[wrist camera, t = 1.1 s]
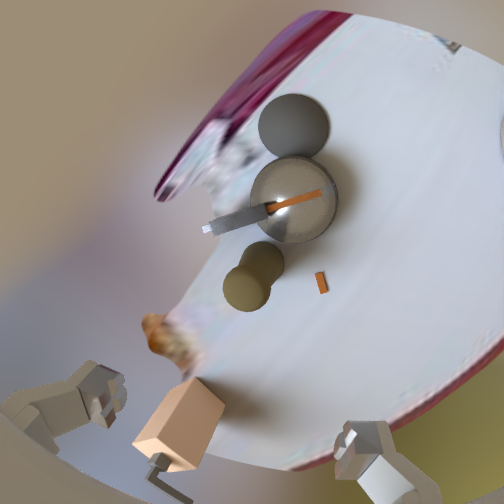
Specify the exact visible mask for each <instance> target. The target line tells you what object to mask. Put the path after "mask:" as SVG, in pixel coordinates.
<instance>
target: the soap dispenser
mask: <svg viewBox="0 0 504 504" xmlns="http://www.w3.org/2000/svg"><path fill="white" fill-rule="evenodd" d="M225 406H226V405H225V404H224V403H223V402H222V401H221V400H220V399H219V398H217V397H216V396H215V395H214V394H213V393H212V392H211V391H210V390H209V389H208V388H207V387H206V386H205V385H204V384H202V383H201V382H200V381H199V380H198V379H197V378H196V377H194V378H192V379H190V380H188V381H186V382H184V383H182V384H181V385H179V386H177V387H175V388H173V389H171V390H170V391H169V393H168V394H167V395H166V397H165V398H164V400H163V401H162V403H161V404H160V405H159V407H158V408H157V410H156V411H155V413H154V414H153V416H152V417H151V418H150V420H149V421H148V422H147V424H146V425H145V427H144V428H143V430H142V431H141V432H140V434H139V435H138V437H137V438H136V440H135V441H134V442H133V444H132V445H134V446H135V447H136V448H137V449H138V450H140V451H141V452H142V453H143V454H145V455H146V456H147V457H148V458H150V460H149V461H148V465H149V466H150V467H151V469H150V471H149V472H148V474H147V475H146V477H145V479H144V480H145V481H146V482H148V483H149V484H151V485H152V486H154V487H155V488H157V489H158V490H160V491H161V492H163V493H164V494H166V495H167V496H169V497H171V498H172V499H174V500H176V501H177V502H179V503H181V504H193V500H192V499H190V498H188V497H187V496H185V495H183V494H182V493H180V492H178V491H177V490H175V489H174V488H172V487H171V486H169V485H168V484H166V483H164V482H163V481H162V480H160V479H159V478H157V475H158V474H159V472H165V471H167V472H176V471H184V470H192V469H197V468H198V466H199V464H200V461H201V459H202V457H203V455H204V453H205V451H206V449H207V446H208V444H209V442H210V440H211V438H212V435H213V433H214V431H215V429H216V427H217V424H218V422H219V420H220V418H221V415H222V413H223V411H224V408H225Z"/></svg>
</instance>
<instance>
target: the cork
mask: <svg viewBox="0 0 504 504" xmlns="http://www.w3.org/2000/svg"><path fill="white" fill-rule="evenodd" d="M283 269H284V259H283V256H282V254H281V252H280V250H279V249H278V248H277V247H276V246H274V245H272V244H270V243H267V242H256V243H253V244H251V245H249V246H248V247H247V248H246V249H245V251H244V253H243V255H242V257H241V260H240V262H239V265H238V266H237V267H235V268H233V269H232V270H231V271H230V272H229V273H228V274H227V275H226V277H225V280H224V283H223V293H224V297H225V298H226V300H227V302H228V303H229V304H230V305H231V306H232V307H234V308H235V309H237V310H239V311H244V312H252V311H255V310H258V309H260V308H261V307H262V306H263V305H264V304H266V302H267V300H268V299H269V296H270V292H271V286H272V285H273V283H274V282H275V281H276V280H277V279H278V278H279V276H280V275H281V273H282V271H283Z"/></svg>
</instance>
